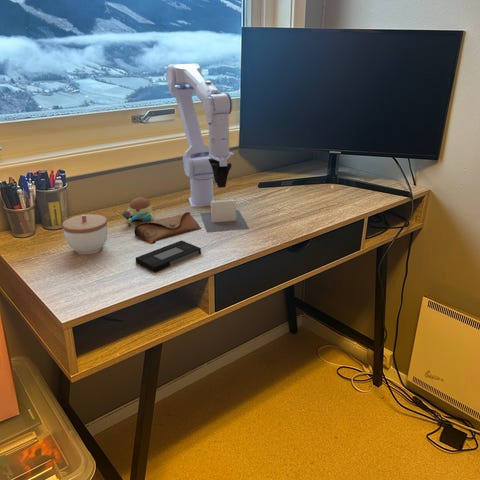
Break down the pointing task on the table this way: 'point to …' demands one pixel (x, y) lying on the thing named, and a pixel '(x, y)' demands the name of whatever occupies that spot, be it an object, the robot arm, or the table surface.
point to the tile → (223, 210)
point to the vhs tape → (167, 256)
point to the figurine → (138, 210)
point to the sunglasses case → (166, 228)
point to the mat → (223, 223)
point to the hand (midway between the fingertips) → (220, 184)
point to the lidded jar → (86, 233)
